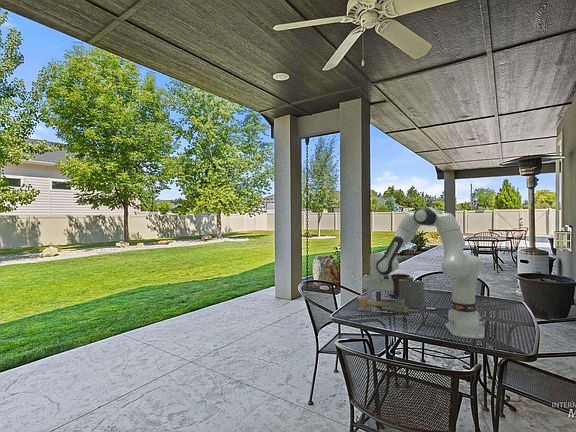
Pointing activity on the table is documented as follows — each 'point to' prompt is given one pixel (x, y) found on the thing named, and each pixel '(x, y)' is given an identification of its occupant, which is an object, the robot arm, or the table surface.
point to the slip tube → (375, 302)
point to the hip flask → (412, 292)
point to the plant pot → (396, 281)
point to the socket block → (362, 301)
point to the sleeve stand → (393, 306)
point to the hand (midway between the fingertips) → (378, 296)
